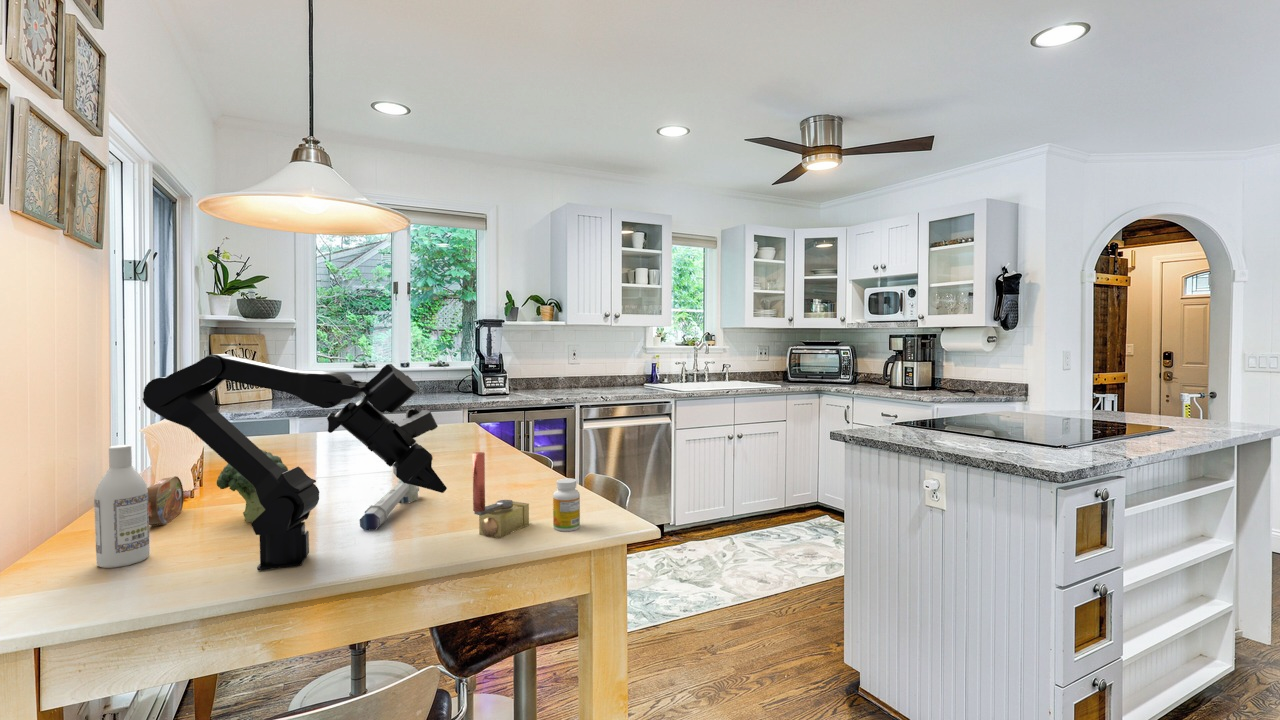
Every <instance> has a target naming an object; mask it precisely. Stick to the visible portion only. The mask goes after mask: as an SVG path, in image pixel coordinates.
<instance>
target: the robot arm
mask: <svg viewBox="0 0 1280 720" xmlns="http://www.w3.org/2000/svg"><path fill="white" fill-rule="evenodd" d="M224 381H229V382H234V383H239V384H244V385H249V386H255V387H258V388H263V389H268V390H271V391H278V392H282V393H287V394H290V395H292V396H295V397H296V398H298V399H299V400H300V401H303V402H306V403H309V404H311V405H313V406H316V407H318V408H322V409H331V408H334V407H338V406H341V405H345V406H344V407H342V409H340V410H339V411H338V412H329V413H328V415H327V417H326V420H327V423H328V424H327V425H328V428H327V433H329V434H330V433H331V434H332V433H333V432H335V430H337V429H338V428H339V427H340V426H341V427H342V428H344V429H345V430H346V431H347V432H348V433H349V434H351V435H352V436H354V438H356V439H357V440H358V441H359V442H360V443H362V444H363V445H364V446H365V447H366V448H367V449H368V450H369V451H370V452H372V453H374V454H375V455H376V456H378V458H380V460H382V461H384V463H385V464H386V465H387V466H388V467H390V468H391V467H392V468H393V469H392V471H393V474H394V476H395V477H396V478H397V479H400V480H401V481H402V482H403V483H406V484H411V485H415V486H419V488H423V489H427V490H431V491H434V492H437V493H441V494H443V493H445V492H446V490H448V488H447V486H446V485H445V483H444V482H443V481H442V479H441V478H440V476H438V474H437V473H436V471H435V470H434V469H433V467H432V466H433V463H432V461H433V458H434V457H433V454H432V453H430V451H428V450H427V449H426V448H425V447H423V446H422V445H421V444H419V443H418V442H417V440H416V439H415V438H417V437H419V436H422V435H423V434H426V433H427V432H429V431H432V432H433V431H434V430H435V429H437V428H438V424H437V422H436V420H435V418H434V416H433V413H432V412H431V411H430V410H429V409H421V411H419V410H418V409H416V408H414V407H412V408H409V409H408V410H406V411H405V418H404V419H402V420H401V421H400V422H397V423H396V422H395V421H393V419H391V420H390V419H389V418H387V417H386V416H385V415H384V414H385V412H388V413H393V414H394V413H395V412H396V411H397V410H398V409H399V408H401V407H402V406H403V405H404V404H405V403H406V402H407V401H408V400H410V399H411V398H412V397H413V396H414V395H416V393H418V391H419V388H418V386H417V385H416V383H415V382H414V380H413V379H412V378H411V376H409V375H406V374H405V373H404V372H402V370H399V369H398V368H396V367H395V366H394V365H393V364H392V363H388V364H385V366H383V367H381V369H380V370H379V371H378V373H377V374H376V375H375V376H374V377H372V378H371V379H370V380H369V381H361V380H355V379H353V377H352V376H351V375H349V374H348V373H346V372H342V371H316V370H315V371H314V370H313V371H311V370H310V371H308V370H299V369H298V370H297V369H293V368H289V367H283V366H278V365H274V364H270V363H264V362H260V361H255V360H251V359H245V358H241V357H238V356H237V357H236V356H234V355H232V354H228V353H221V354H220V353H217V354H209V355H206V356H205V357H204V358H202V359H200V360H199V361H197V362H195V363H193V364H191V365H189V366H186V367H184V368H182V369H179V370H177V371H175V372H173V373H171V374H169V375H167V376H163V377H157V378H153V379H151V380H150V381H148V383H147V384H146V385H145V386H144V389H143V396H142V397H143V398H142V402H143V404H144V405H145V407H147V409H148V410H150V411H152V412H154V413H155V414H156V415H158V416H160V417H161V418H163V419H165V420H166V421H169V422H172V423H173V424H174V423H175V424H178V425H179V426H182V427H185V428H187V429H188V430H190V431H191V432H192V433H194V434H195V436H196V437H198V438H199V439H200V440H202V442H203V443H205V444H206V445H207V446H208V448H210V449H211V450H213V452H215V454H217V455H218V456H219V457H221V459H223V461H225V462H226V463H227V464H229V465H230V466H232V467H233V468H234V469H235V470H236V471H237V472H238V473H239V474H241V475H242V476H243V477H244V478H245V479H246V480H247V481H248V482H249V483H251V484H252V485H253V487H254V488H255V490H256V493H257V496H258V499H259V502H260V504H261V505H262V507H263V508H264V509H265V511H264V512H262V513H261V514H260V515H259V516H258V517H257V518H256V519H255V520H254V521H253V522H250V525H251V527H252V530H253V532H254V535H255V536H259V564H258V565H257V567H256V570H257V571H266V570H267V571H268V570H275V569H277V570H278V569H284V568H292V567H299V566H302V565H303V563H304V561H305V560H306V559H307V558H308V556H309V553H310V537H309V536H310V533H309V532H310V531H309V530H306V522H305V520H307V519H309V515H310V513H311V511H312V510H314V509H315V508H316V506H317V505H319V500H320V490H319V488H318V486H317V485H316V484H315V483H316V482H317V480H316V479H313V478H311V477H310V476H308V475H307V474H306V472H305V471H304V469H302V468H301V467H300V466H298V465H297V466H296V467H293V468H291V469H288V470H286V469H283V468H281V467H279V466H278V465H277V464H276V463H275V462H273V461H272V460H271V459H270V458H269V457H268V456H267V455H266V454H265V453H264V452H262V451H261V450H262V449H261V450H260V448H259V447H258V446H257V445H256V444H255V443H254V442H253V441H251V440H250V439H249V438H248V437H247V436H246V435H245V434H244V433H243V432H241V430H239V429H238V428H237V427H236V426H235V425H234V424H233V423H232V422H230V421H229V420H228V419H227V418H226V417H225V416H224V415H223V414H222V413H221V412H220V411H218V409H217V407H216V404H215V401H214V397H213V395H212V393H211V391H213V390H214V389H215V390H216V389H217V388H218V387H219V385H221V384H222V383H223V382H224ZM364 395H365V396H364ZM361 396H363V397H362V398H361V399H360V400H357V402H356V403H355V402H351V400H352V399H355V398H357V397H361Z"/></svg>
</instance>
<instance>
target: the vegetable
mask: <svg viewBox="0 0 1280 720" xmlns="http://www.w3.org/2000/svg"><path fill="white" fill-rule="evenodd" d="M259 449H260V448H259ZM260 450H261V451H262V452H264V453H265V454H266V455H267V456H268V457H269V458H270V459H271V460H272V461H273V462H275V463H276V464H277V465H278V466H279V467H281V468H283V469H286V470H289V469H288V467H287V465H285V464H284V462H283V461H282V457H279V456H278V455H273V453H271V452H270V451H269V452H268V451H266V450H262V449H260ZM216 486H217V487H218V488H219V489H220V490H225V489H227V488H228V489H229V490H231V491H232V492H235V491H237V492H238V494H239V495H240V496H241V497H242V498H243V499H244V501H245V507H244V511H243V512H242V515H243V517H244V522H247V523H252V522H253V521H254V520H255V519H256V518H257V517H258V516H259V515H260V514H261V513H262V512H264V511H265V509H264V508H263V507H262V505H261V504H260V502H259V499H258V496H257V493H256V490H255V488H254V487H253V485H252V484H251V483H249V482H248V481H247V480H246V479H245V478H244V477H243V476H242V475H241V474H239V473H238V472H237V471H236V470H235V469H234V468H233V467H232V466H230V465H229V464H228V463H227V464H226V465H225V466H224V467H223V469H222V470H221V472H220V473H219V475H218V477H217V480H216Z"/></svg>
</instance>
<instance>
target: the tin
mask: <svg viewBox="0 0 1280 720" xmlns="http://www.w3.org/2000/svg"><path fill="white" fill-rule="evenodd" d="M183 487H184V486H183V483H182V481H181V479H180V478H179V476H172V477H164V478H161V479H159V480H158V481H156V482H155V483H153V484H151V485H150V486H147V489H148V509H149V527H150V526H151V527H153V526H154V527H155V526H161V525H162V526H163V525H164V526H165V525H168V524H169V523H171V522H172V520H174V519H175V518H176V517H178V516H179V515H180V514H181V512H182V511H183V506H184V497H185V496H184V488H183ZM167 523H168V524H167Z"/></svg>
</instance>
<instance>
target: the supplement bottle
mask: <svg viewBox="0 0 1280 720" xmlns="http://www.w3.org/2000/svg"><path fill="white" fill-rule="evenodd" d="M576 488H577V479H575V478H570V477H565V478H559V479H557V480H556V490H555V491H554V492H553V495H552V505H553V506H552V507H553V508H552V511H553V512H552V515H553V516H552V518H553V519H552V520H553V521H552V522H553V523H552V524H553V526H552V527H553V529H554V530H556V531H558V532H573V531H576V530H578V529H580V527H581V512H580V511H581V509H580V508H581V507H580V506H581V505H580V504H581V499H580V497H581V495H580V494H581V493H580V491H579V490H578V489H576Z"/></svg>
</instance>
